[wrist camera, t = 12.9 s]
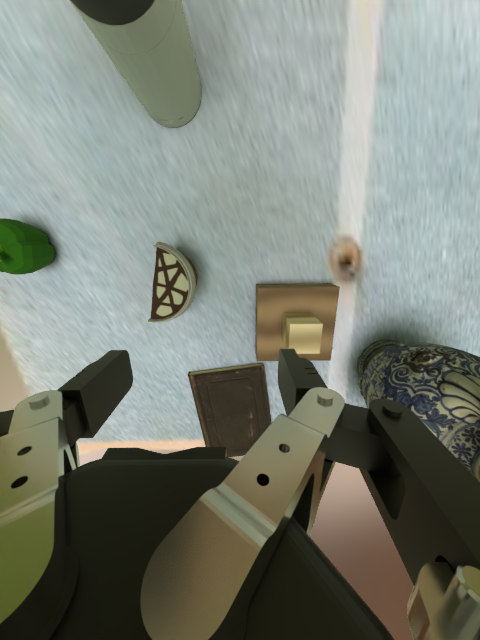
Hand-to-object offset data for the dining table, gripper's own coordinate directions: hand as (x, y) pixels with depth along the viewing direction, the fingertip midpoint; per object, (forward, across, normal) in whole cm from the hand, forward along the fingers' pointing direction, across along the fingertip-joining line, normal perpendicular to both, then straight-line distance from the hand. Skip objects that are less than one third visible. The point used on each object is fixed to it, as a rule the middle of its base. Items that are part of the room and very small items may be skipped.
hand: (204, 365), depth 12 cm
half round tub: (+32, +8, 0) cm, 33 cm away
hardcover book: (+33, 0, +30) cm, 44 cm away
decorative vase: (+32, -32, +18) cm, 49 cm away
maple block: (+28, -12, +8) cm, 32 cm away
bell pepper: (+32, +34, -6) cm, 47 cm away
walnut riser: (+32, -12, +8) cm, 35 cm away
